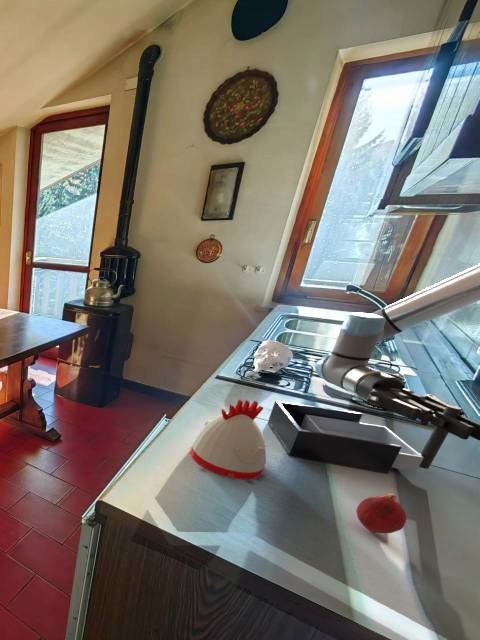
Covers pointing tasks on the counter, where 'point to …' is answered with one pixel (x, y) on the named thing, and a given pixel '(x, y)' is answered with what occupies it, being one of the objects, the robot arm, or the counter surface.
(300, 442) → the black open box
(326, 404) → the counter surface
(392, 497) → the onion
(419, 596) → the counter surface
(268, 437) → the counter surface
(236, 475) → the kitchen timer
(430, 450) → the white boxy piece
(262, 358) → the pale pink rounded lump
